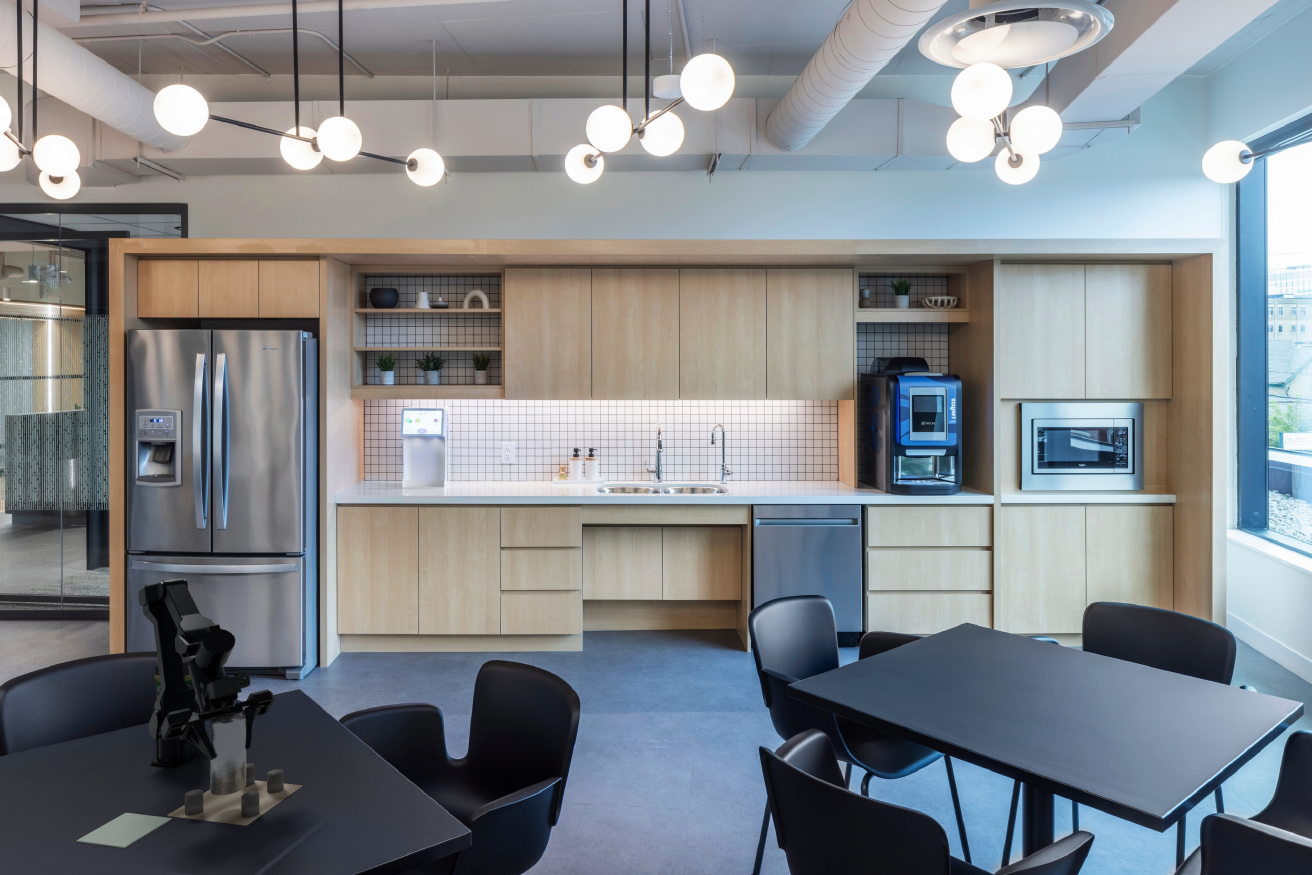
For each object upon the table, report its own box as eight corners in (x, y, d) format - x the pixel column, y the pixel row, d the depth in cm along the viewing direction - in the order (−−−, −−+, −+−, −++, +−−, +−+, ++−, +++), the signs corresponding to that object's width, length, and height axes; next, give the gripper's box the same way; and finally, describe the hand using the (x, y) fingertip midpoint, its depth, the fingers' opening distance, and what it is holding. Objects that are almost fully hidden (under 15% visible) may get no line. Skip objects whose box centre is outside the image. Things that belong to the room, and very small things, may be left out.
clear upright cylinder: (202, 793, 146) (202, 724, 146) (226, 778, 152) (226, 712, 152) (230, 796, 145) (230, 727, 145) (253, 782, 151) (253, 715, 151)
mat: (166, 818, 146) (166, 796, 146) (229, 780, 161) (229, 760, 161) (246, 828, 142) (246, 806, 142) (303, 788, 158) (303, 768, 158)
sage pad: (76, 844, 137) (76, 840, 136) (125, 816, 146) (125, 812, 146) (124, 851, 135) (124, 846, 134) (171, 822, 144) (171, 818, 144)
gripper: (165, 670, 144) (185, 747, 137) (270, 649, 158) (294, 717, 151) (152, 701, 150) (171, 777, 142) (255, 678, 163) (277, 746, 156)
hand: (230, 753), depth 148 cm, fingers closed on clear upright cylinder, 6 cm apart
